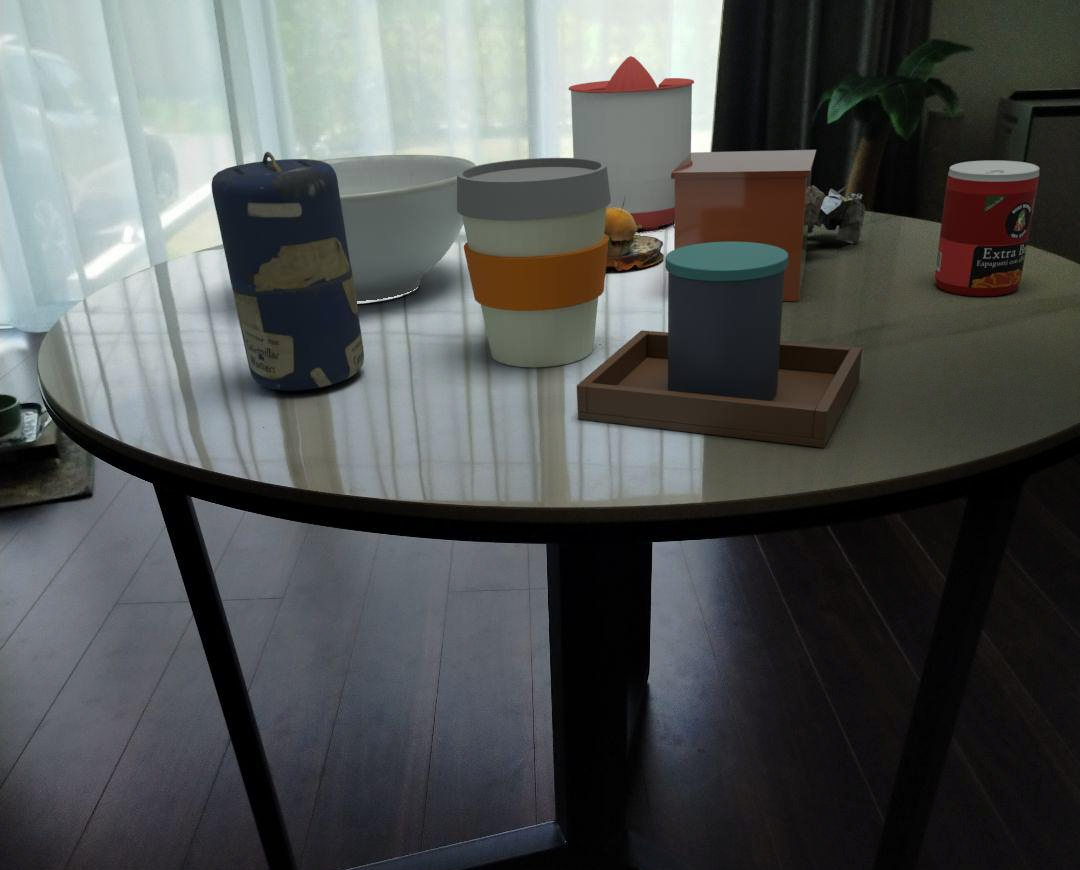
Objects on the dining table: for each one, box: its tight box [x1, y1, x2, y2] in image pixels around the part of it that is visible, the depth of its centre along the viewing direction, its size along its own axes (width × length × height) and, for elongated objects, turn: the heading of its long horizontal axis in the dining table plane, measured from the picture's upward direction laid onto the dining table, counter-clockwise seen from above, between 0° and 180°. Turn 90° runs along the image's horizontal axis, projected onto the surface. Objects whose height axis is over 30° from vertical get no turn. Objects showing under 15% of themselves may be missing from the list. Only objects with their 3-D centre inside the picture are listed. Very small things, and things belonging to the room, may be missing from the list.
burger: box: [604, 198, 665, 272], centre depth 112 cm, size 12×12×8 cm
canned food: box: [934, 159, 1040, 298], centre depth 94 cm, size 8×8×11 cm
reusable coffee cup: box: [457, 157, 611, 368], centre depth 83 cm, size 13×12×15 cm
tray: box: [576, 329, 863, 449], centre depth 73 cm, size 18×14×3 cm
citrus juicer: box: [568, 55, 695, 231], centre depth 128 cm, size 16×17×20 cm
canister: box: [211, 151, 365, 392], centre depth 79 cm, size 10×10×18 cm
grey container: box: [664, 242, 788, 401], centre depth 71 cm, size 8×8×10 cm
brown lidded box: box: [671, 149, 817, 302], centre depth 99 cm, size 13×13×12 cm
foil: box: [807, 184, 866, 245], centre depth 112 cm, size 12×11×15 cm
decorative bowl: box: [318, 154, 477, 301], centre depth 106 cm, size 27×27×12 cm
